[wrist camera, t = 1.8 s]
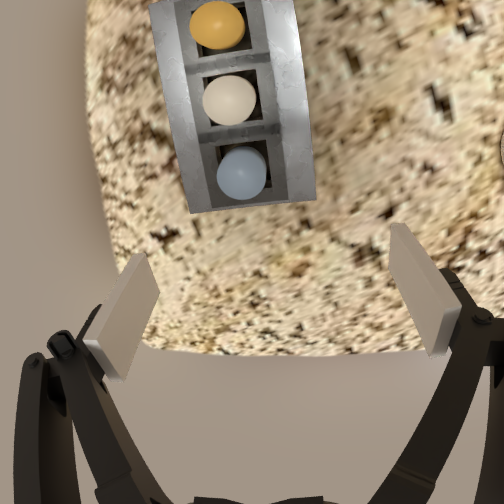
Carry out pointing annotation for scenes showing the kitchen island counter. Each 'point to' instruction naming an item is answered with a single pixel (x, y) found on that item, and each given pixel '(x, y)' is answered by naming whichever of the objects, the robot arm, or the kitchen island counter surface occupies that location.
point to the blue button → (242, 173)
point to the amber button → (217, 25)
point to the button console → (252, 129)
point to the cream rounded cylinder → (229, 100)
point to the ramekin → (502, 147)
